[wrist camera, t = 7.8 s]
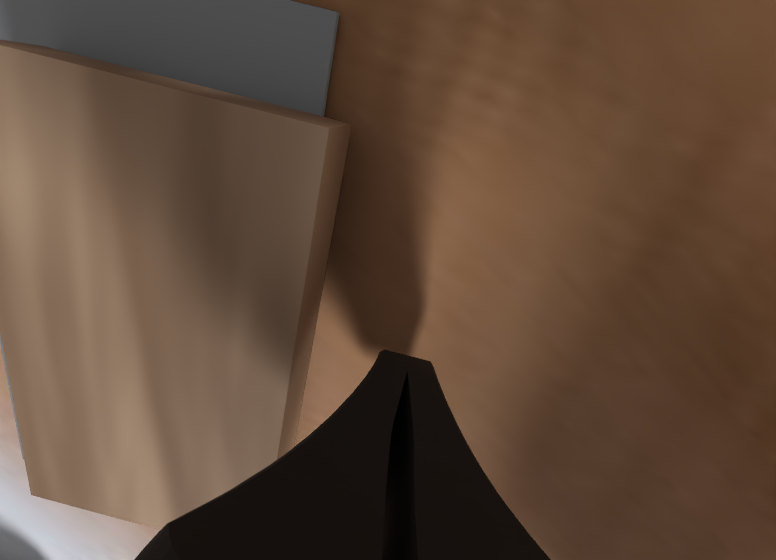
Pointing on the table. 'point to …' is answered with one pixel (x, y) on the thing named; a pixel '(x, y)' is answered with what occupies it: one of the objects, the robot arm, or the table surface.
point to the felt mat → (192, 44)
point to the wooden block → (156, 279)
